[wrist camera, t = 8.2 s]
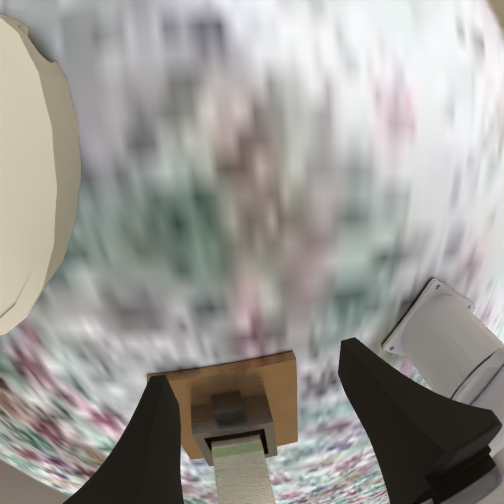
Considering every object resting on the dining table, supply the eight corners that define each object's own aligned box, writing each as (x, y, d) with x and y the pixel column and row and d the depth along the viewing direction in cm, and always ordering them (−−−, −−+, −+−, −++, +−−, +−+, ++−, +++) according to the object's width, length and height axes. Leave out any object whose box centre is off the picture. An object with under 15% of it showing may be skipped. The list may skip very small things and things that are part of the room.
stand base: (147, 374, 23) (144, 412, 20) (292, 350, 24) (306, 386, 21) (190, 452, 29) (192, 481, 26) (295, 434, 31) (304, 463, 27)
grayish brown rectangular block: (210, 441, 22) (221, 529, 15) (259, 433, 22) (280, 520, 15) (219, 461, 24) (231, 538, 17) (263, 454, 24) (282, 530, 17)
